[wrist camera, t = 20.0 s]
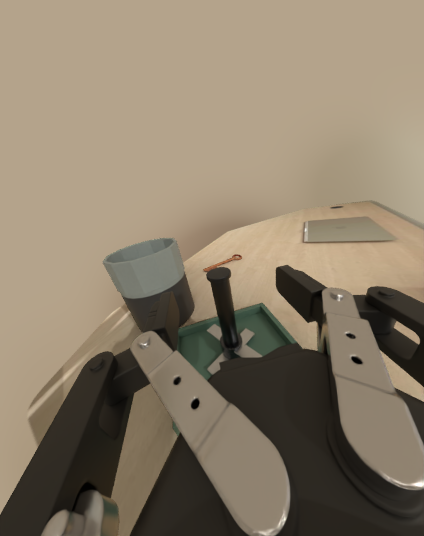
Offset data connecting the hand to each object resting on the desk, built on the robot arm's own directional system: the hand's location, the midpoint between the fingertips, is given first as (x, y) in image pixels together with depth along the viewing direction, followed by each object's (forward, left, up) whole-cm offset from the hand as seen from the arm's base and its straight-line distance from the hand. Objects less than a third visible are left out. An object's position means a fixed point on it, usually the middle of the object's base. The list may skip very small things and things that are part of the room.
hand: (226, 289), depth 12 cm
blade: (+2, +6, -16) cm, 17 cm away
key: (+16, +36, -16) cm, 42 cm away
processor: (-6, +23, -16) cm, 28 cm away
